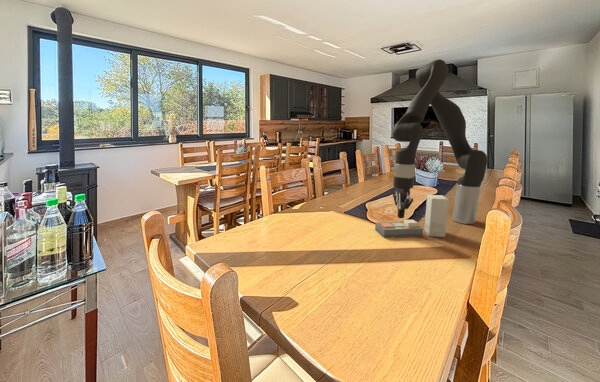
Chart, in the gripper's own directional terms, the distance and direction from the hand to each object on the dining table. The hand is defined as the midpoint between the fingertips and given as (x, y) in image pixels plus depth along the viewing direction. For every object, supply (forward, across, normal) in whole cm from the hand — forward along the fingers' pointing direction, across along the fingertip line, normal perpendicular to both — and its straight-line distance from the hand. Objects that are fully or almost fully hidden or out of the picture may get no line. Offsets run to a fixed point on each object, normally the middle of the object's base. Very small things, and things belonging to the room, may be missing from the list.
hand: (400, 217), depth 116 cm
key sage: (+5, 0, 0) cm, 5 cm away
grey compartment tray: (+7, 0, 0) cm, 7 cm away
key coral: (+5, 0, -5) cm, 7 cm away
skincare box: (+7, +1, +14) cm, 16 cm away
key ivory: (+4, 0, +5) cm, 6 cm away
